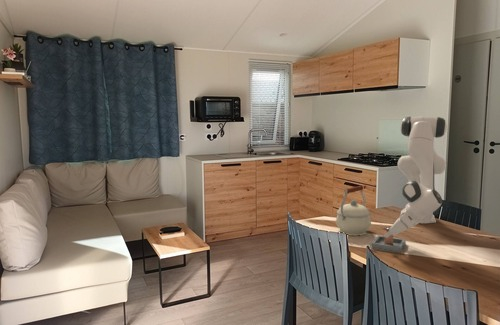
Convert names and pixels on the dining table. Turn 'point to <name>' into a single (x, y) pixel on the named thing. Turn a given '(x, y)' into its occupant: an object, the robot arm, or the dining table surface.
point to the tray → (397, 245)
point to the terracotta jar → (388, 238)
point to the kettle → (353, 215)
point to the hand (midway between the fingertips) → (387, 233)
